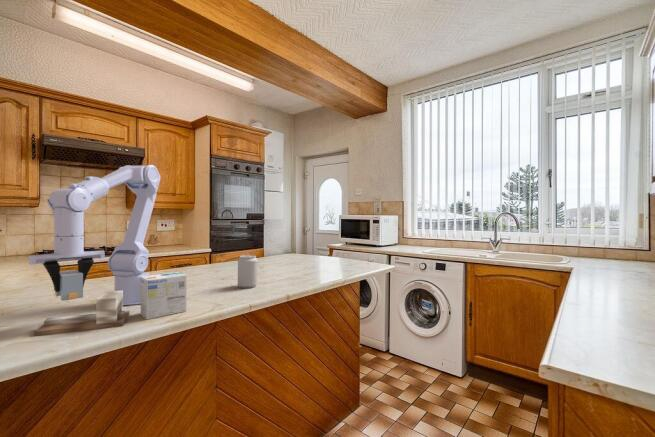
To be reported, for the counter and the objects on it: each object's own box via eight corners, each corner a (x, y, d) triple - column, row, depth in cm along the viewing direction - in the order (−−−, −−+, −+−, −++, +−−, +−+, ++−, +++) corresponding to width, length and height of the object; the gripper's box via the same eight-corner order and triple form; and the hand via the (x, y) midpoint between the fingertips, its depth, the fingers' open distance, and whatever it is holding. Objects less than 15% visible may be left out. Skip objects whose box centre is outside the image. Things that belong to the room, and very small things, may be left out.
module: (75, 292, 82) (75, 269, 82) (83, 297, 76) (83, 273, 76) (55, 295, 79) (55, 271, 78) (62, 301, 73) (62, 276, 73)
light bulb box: (179, 306, 93) (179, 270, 93) (187, 311, 88) (187, 274, 88) (139, 314, 85) (139, 275, 85) (145, 320, 81) (145, 279, 80)
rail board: (129, 314, 85) (129, 289, 85) (122, 325, 76) (122, 298, 76) (51, 322, 78) (51, 295, 78) (34, 335, 70) (34, 305, 69)
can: (234, 288, 116) (234, 256, 115) (242, 283, 123) (243, 253, 123) (252, 289, 114) (253, 257, 114) (260, 284, 122) (260, 254, 121)
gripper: (99, 233, 85) (99, 282, 86) (26, 236, 74) (26, 292, 74) (107, 235, 81) (107, 286, 81) (31, 238, 70) (31, 297, 70)
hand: (69, 289), depth 77 cm, fingers closed on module, 4 cm apart
